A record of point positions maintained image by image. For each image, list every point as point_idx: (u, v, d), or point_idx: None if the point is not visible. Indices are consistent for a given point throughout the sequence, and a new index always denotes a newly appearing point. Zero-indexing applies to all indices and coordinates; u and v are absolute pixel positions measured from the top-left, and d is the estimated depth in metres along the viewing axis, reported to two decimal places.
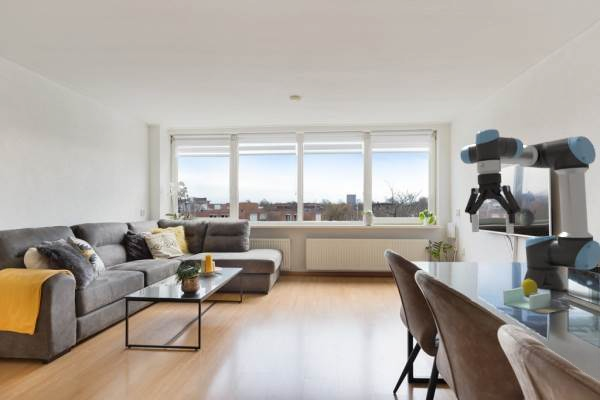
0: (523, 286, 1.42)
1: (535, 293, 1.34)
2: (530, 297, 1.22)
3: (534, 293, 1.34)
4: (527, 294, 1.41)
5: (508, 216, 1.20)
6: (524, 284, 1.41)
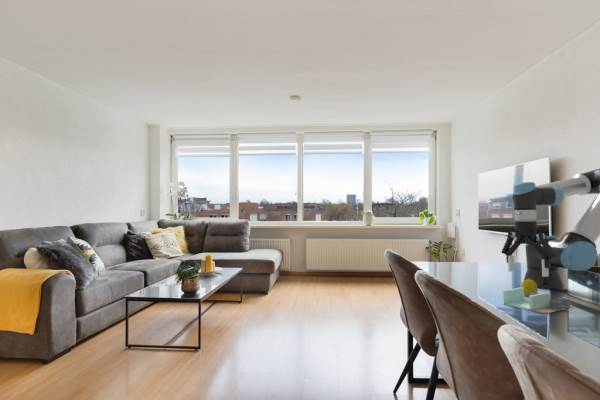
0: (523, 286, 1.42)
1: (535, 293, 1.34)
2: (530, 297, 1.22)
3: (534, 293, 1.34)
4: (527, 294, 1.41)
5: (544, 261, 1.35)
6: (524, 284, 1.41)
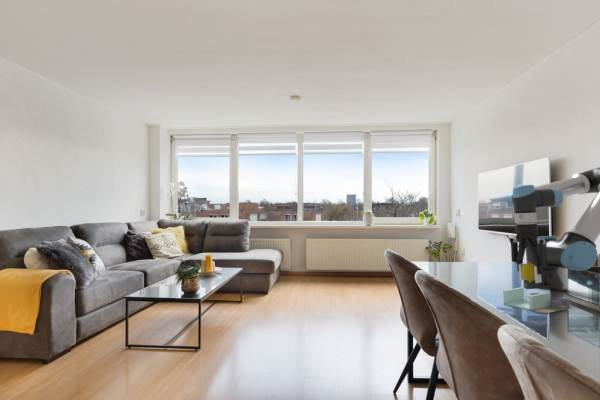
0: (523, 270, 1.42)
1: (535, 293, 1.34)
2: (530, 297, 1.22)
3: (534, 293, 1.34)
4: (527, 278, 1.41)
5: (536, 268, 1.39)
6: (524, 268, 1.42)
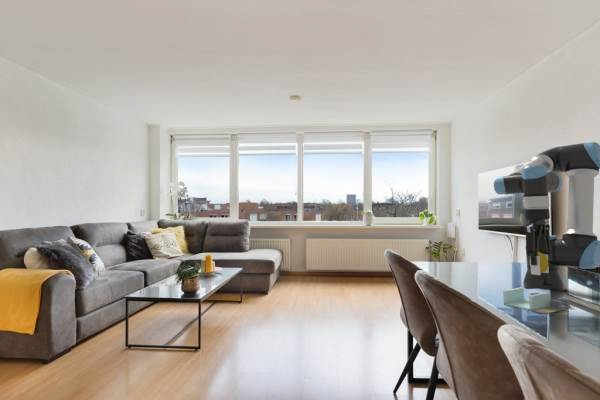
0: None
1: (535, 293, 1.34)
2: (530, 297, 1.22)
3: (534, 293, 1.34)
4: None
5: None
6: None
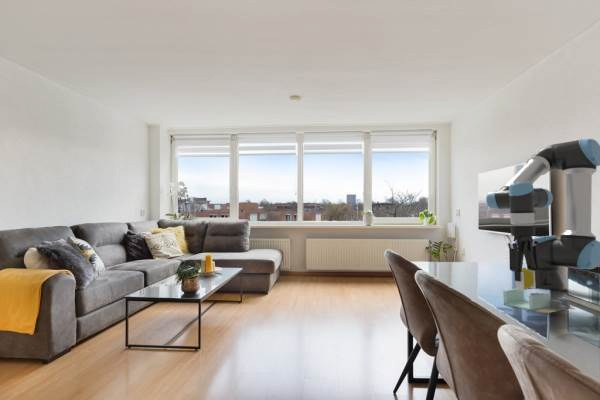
0: None
1: (535, 293, 1.34)
2: (530, 297, 1.22)
3: (534, 293, 1.34)
4: None
5: None
6: None
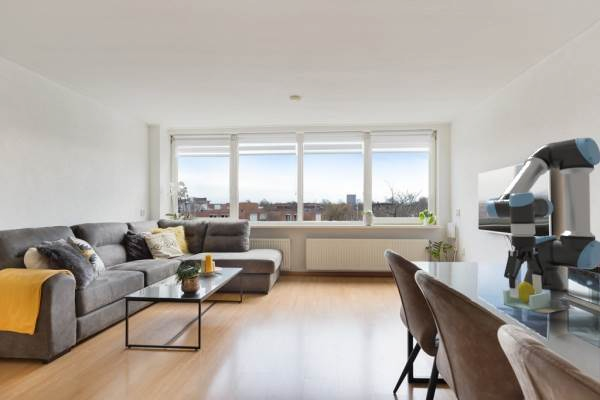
0: None
1: (535, 293, 1.34)
2: (530, 297, 1.22)
3: None
4: None
5: None
6: None
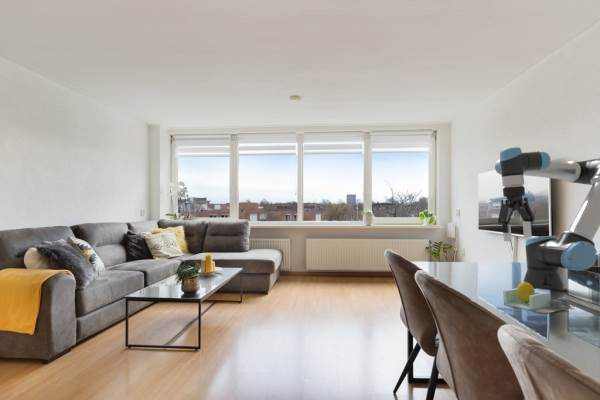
0: None
1: (535, 293, 1.34)
2: (530, 297, 1.22)
3: None
4: None
5: None
6: None
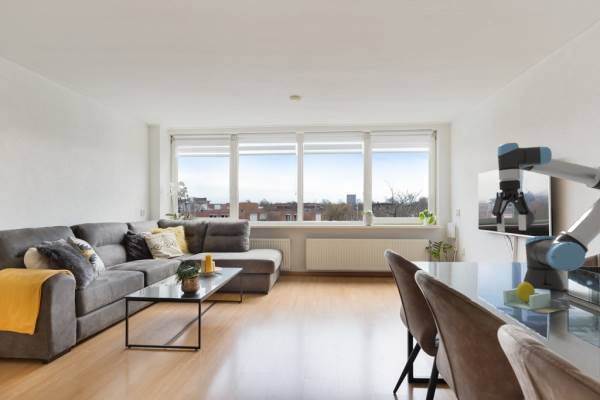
0: None
1: (535, 293, 1.34)
2: (530, 297, 1.22)
3: None
4: None
5: None
6: None
